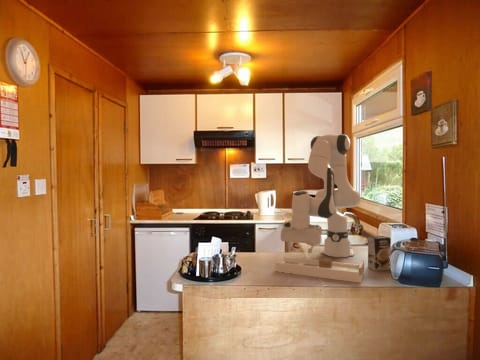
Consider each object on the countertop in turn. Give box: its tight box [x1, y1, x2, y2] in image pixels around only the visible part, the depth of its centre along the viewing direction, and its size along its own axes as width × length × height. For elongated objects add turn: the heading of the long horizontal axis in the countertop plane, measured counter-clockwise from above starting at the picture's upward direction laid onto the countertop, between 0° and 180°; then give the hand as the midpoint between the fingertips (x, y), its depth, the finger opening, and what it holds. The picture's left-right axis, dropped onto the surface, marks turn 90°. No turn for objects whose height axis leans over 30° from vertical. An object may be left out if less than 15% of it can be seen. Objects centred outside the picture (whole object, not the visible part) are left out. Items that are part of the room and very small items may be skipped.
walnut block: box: [319, 257, 333, 269], centre depth 163 cm, size 5×5×4 cm
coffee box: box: [367, 235, 392, 272], centre depth 170 cm, size 9×6×16 cm
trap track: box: [275, 256, 365, 283], centre depth 164 cm, size 13×40×6 cm, turn 64°
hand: (300, 251), depth 167 cm, fingers open, 8 cm apart
